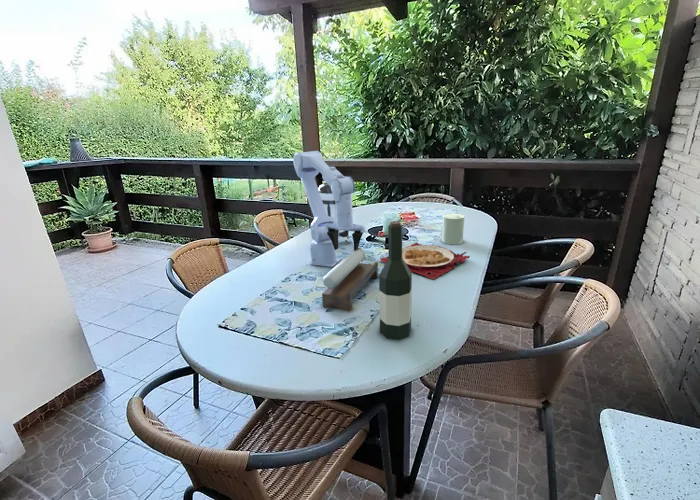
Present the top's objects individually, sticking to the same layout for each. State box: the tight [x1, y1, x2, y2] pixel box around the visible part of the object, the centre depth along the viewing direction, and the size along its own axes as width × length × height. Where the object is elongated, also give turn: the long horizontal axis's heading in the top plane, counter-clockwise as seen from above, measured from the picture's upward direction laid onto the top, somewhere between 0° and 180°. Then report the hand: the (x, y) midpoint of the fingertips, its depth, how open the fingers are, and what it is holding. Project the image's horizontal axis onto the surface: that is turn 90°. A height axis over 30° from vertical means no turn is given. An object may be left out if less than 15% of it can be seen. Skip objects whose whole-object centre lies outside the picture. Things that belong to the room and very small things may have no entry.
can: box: [441, 212, 466, 245], centre depth 161 cm, size 9×9×12 cm
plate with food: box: [379, 242, 471, 280], centre depth 142 cm, size 24×26×4 cm
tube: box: [322, 247, 367, 289], centre depth 120 cm, size 5×5×25 cm
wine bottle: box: [378, 220, 413, 341], centre depth 92 cm, size 8×8×30 cm
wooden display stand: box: [321, 261, 379, 312], centre depth 120 cm, size 9×26×6 cm, turn 157°
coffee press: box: [318, 182, 352, 244], centre depth 162 cm, size 17×16×30 cm
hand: (346, 249), depth 131 cm, fingers open, 7 cm apart
